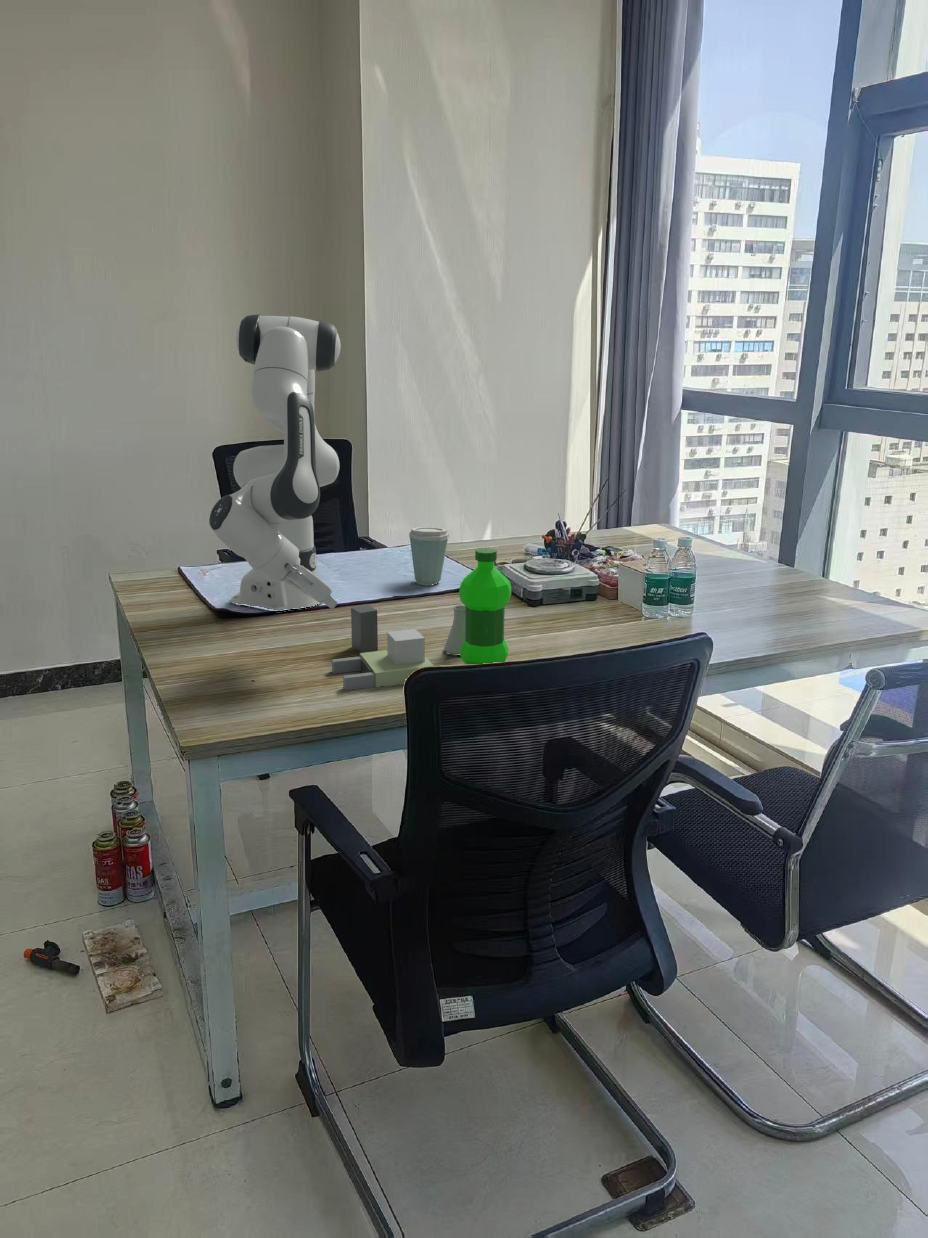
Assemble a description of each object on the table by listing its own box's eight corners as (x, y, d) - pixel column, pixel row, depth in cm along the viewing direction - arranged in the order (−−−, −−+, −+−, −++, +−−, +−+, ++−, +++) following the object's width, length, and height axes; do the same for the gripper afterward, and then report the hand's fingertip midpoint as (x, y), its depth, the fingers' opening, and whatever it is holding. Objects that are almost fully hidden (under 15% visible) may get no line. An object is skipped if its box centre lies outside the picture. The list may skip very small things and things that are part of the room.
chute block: (361, 653, 210) (360, 613, 207) (351, 647, 214) (350, 607, 211) (377, 650, 212) (377, 610, 209) (368, 644, 216) (367, 604, 213)
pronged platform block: (345, 691, 189) (344, 652, 187) (331, 670, 200) (330, 633, 198) (434, 680, 195) (434, 642, 193) (415, 660, 206) (415, 624, 204)
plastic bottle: (455, 676, 197) (456, 555, 190) (464, 658, 207) (465, 543, 199) (505, 680, 196) (508, 558, 188) (511, 662, 205) (514, 545, 198)
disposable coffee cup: (407, 577, 267) (407, 523, 263) (447, 577, 269) (447, 523, 264) (410, 588, 257) (409, 532, 253) (451, 587, 259) (451, 531, 254)
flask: (442, 646, 215) (442, 602, 212) (475, 645, 215) (475, 601, 212) (444, 657, 208) (444, 612, 205) (478, 656, 209) (479, 611, 206)
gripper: (307, 558, 189) (355, 600, 196) (269, 537, 205) (314, 576, 213) (287, 584, 188) (335, 624, 196) (249, 561, 204) (296, 599, 212)
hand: (324, 599), depth 204 cm, fingers open, 8 cm apart
